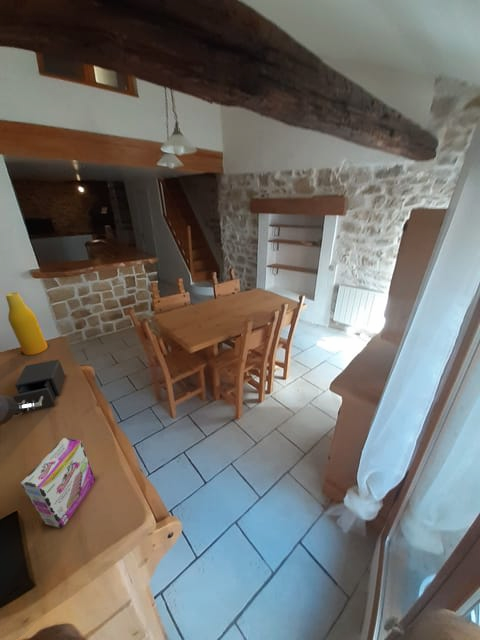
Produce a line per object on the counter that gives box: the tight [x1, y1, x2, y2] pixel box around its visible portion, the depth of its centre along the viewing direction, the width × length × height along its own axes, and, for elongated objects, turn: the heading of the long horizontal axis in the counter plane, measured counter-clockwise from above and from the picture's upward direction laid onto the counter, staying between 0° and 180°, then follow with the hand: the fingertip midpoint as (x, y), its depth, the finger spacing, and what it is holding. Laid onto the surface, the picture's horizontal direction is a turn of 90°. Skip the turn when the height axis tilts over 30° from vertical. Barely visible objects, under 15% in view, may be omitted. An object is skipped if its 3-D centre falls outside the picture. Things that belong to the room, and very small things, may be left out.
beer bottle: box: [5, 291, 48, 356], centre depth 112 cm, size 9×9×29 cm
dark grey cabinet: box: [14, 359, 66, 397], centre depth 93 cm, size 12×11×10 cm
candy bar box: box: [20, 437, 96, 529], centre depth 58 cm, size 11×5×16 cm, turn 169°
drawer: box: [12, 380, 57, 413], centre depth 87 cm, size 15×9×8 cm, turn 23°
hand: (23, 410), depth 77 cm, fingers closed
